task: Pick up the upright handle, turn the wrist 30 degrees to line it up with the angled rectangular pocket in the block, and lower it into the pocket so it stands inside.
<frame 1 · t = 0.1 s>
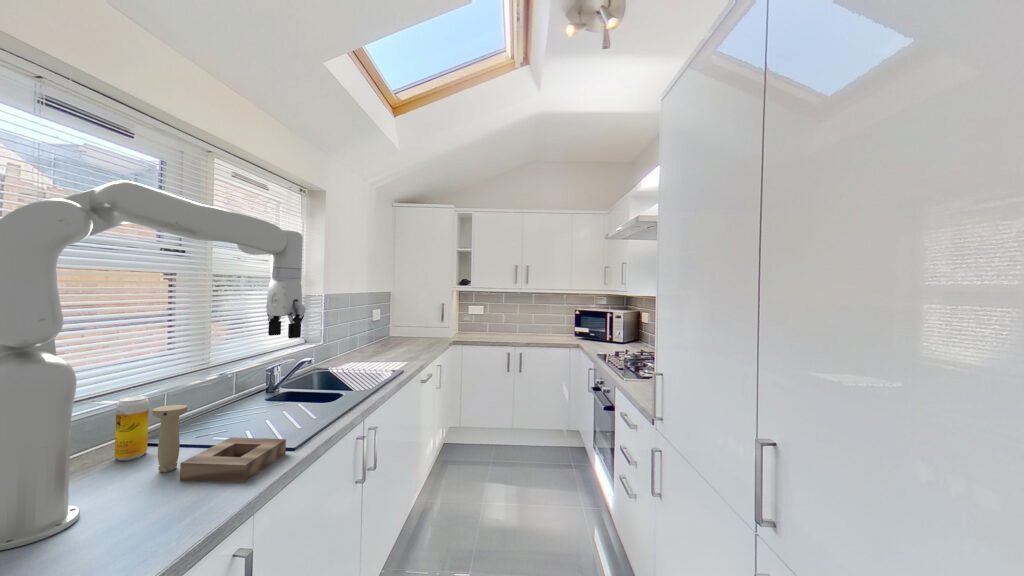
hand: (284, 336, 110), 31 cm above the countertop, tool pointing down, fingers open, 9 cm apart
handle: (168, 470, 95), on the countertop
beer can: (131, 457, 102), on the countertop
keyed socket block: (236, 466, 98), on the countertop
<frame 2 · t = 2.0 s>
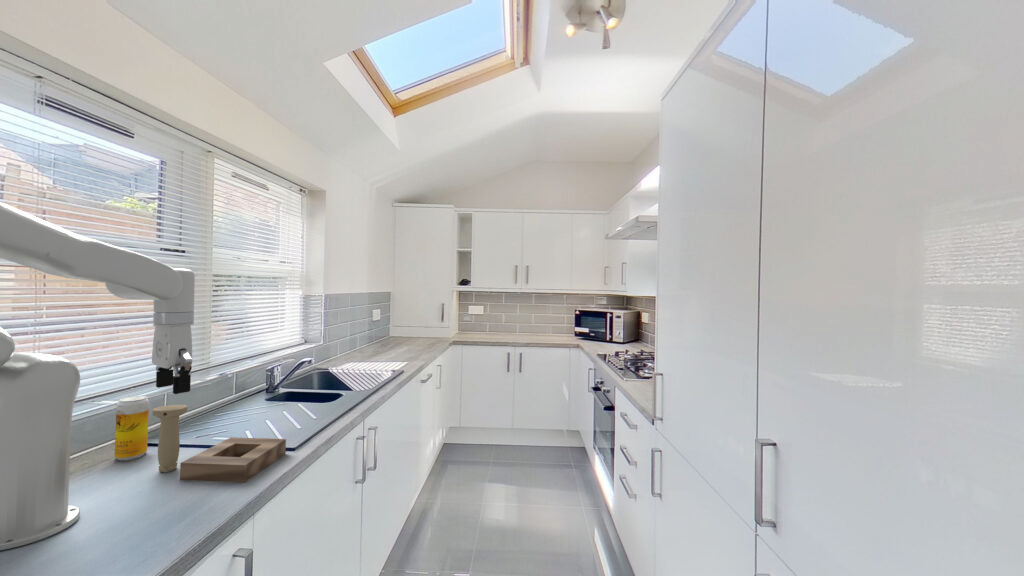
hand: (172, 389, 96), 19 cm above the countertop, tool pointing down, fingers open, 9 cm apart
nothing on the countertop moved.
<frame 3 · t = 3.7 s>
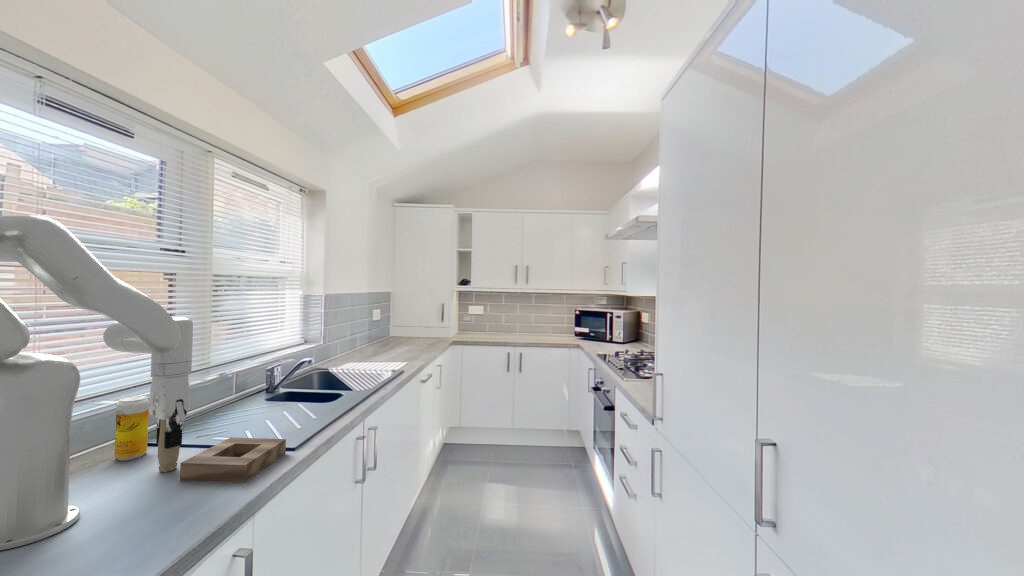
hand: (169, 443, 95), 6 cm above the countertop, tool pointing down, fingers closed on handle, 3 cm apart
handle: (168, 470, 95), on the countertop, touching gripper
everything else where it was.
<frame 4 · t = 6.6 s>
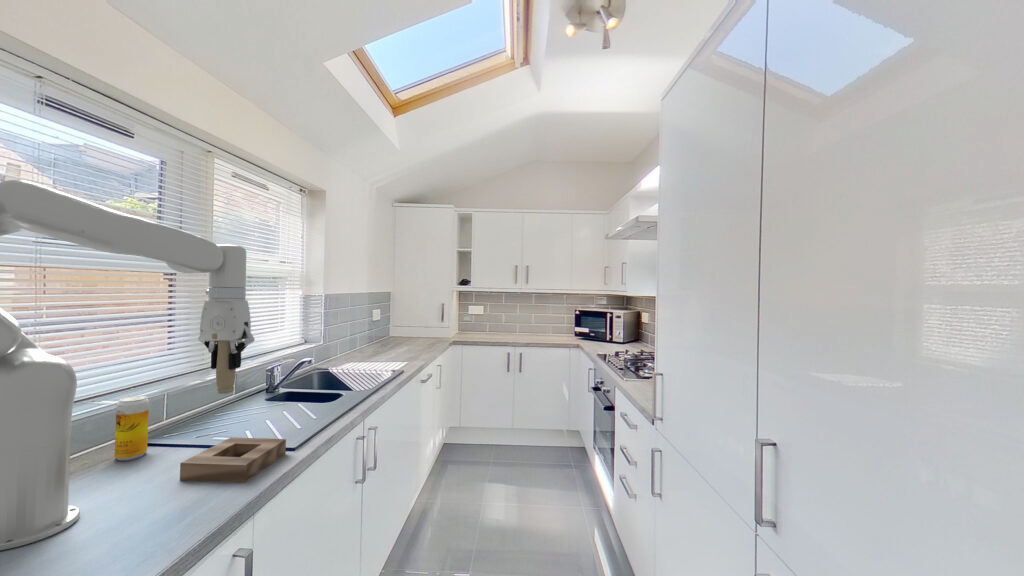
hand: (226, 367, 98), 25 cm above the countertop, tool pointing down, fingers closed on handle, 3 cm apart
handle: (225, 393, 98), point 18 cm above the countertop, touching gripper
everything else where it was.
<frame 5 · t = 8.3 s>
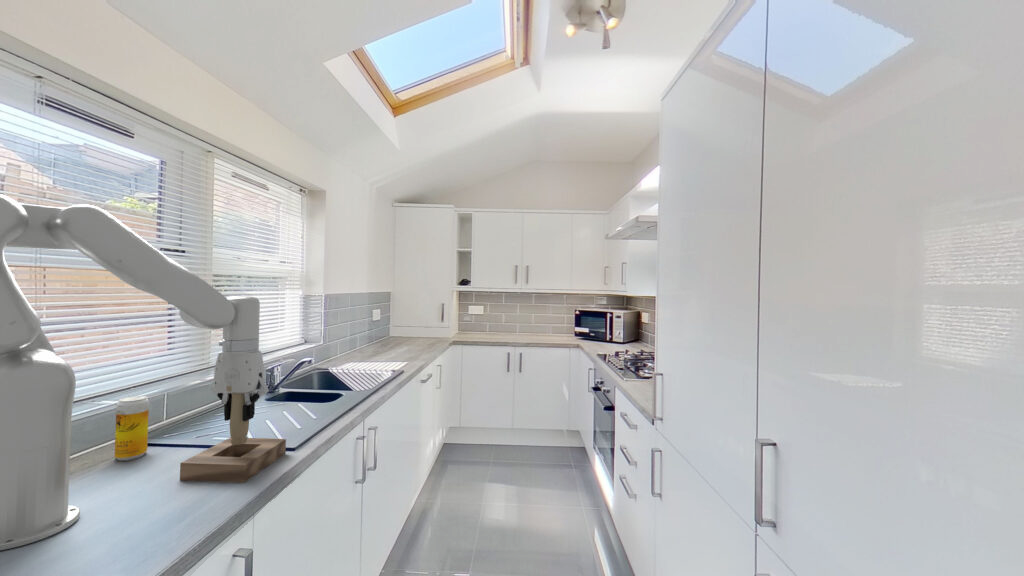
hand: (239, 418, 99), 12 cm above the countertop, tool pointing down, fingers closed on handle, 3 cm apart
handle: (238, 444, 99), point 5 cm above the countertop, touching gripper
everything else where it was.
when the fingers open (8 cm above the countertop, at t = 9.4 s): handle drops 1 cm, resting in keyed socket block.
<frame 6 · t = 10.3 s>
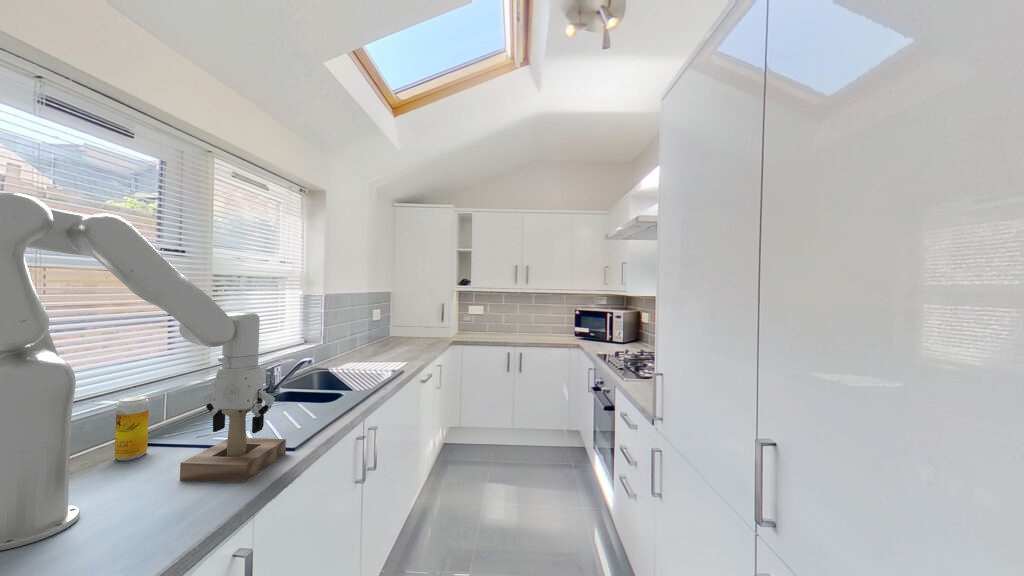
hand: (238, 430, 98), 9 cm above the countertop, tool pointing down, fingers open, 9 cm apart
handle: (236, 467, 98), resting in keyed socket block
everything else where it was.
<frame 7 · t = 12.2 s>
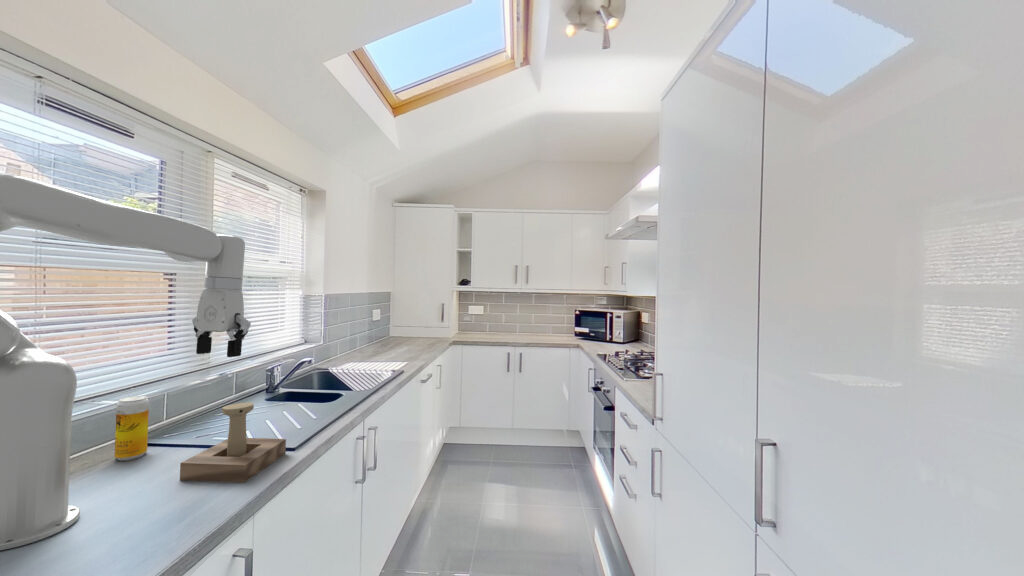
hand: (218, 354, 97), 28 cm above the countertop, tool pointing down, fingers open, 9 cm apart
nothing on the countertop moved.
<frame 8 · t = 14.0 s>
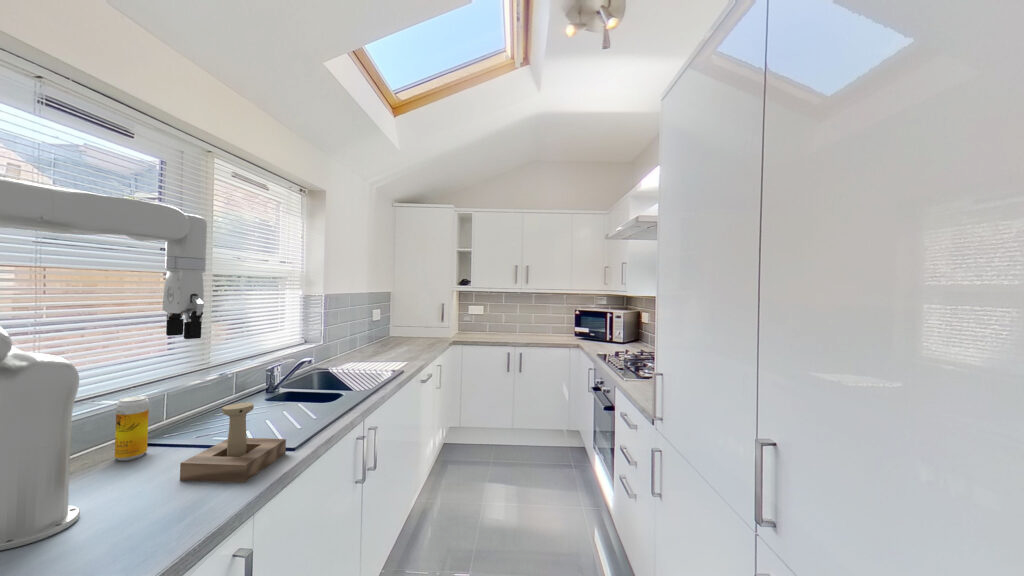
hand: (183, 336, 95), 32 cm above the countertop, tool pointing down, fingers open, 9 cm apart
nothing on the countertop moved.
at the end: handle 0.1 cm off-centre on the keyed socket block, point 0.0 cm above the keyed socket block's base; handle tilted 0°; the gripper is holding nothing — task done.
